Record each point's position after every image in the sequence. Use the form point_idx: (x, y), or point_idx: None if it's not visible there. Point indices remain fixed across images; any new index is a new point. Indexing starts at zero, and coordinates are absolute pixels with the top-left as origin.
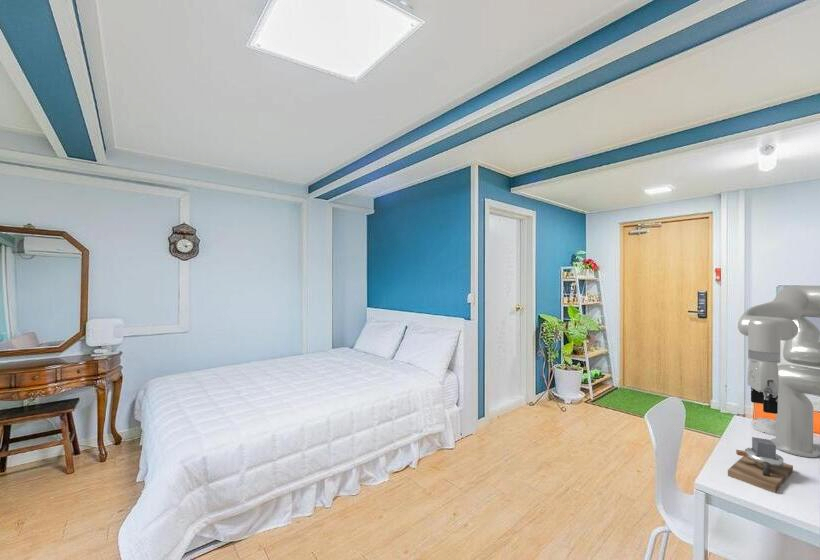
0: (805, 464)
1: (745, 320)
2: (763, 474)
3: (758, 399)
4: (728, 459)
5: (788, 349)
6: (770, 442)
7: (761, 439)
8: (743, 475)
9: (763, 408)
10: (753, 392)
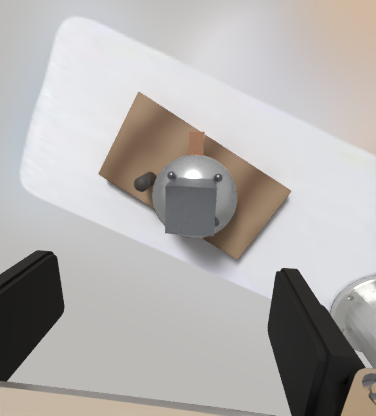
0: None
1: None
2: (147, 172)
3: (279, 326)
4: (251, 129)
5: None
6: (187, 228)
7: (205, 211)
8: (123, 122)
9: (30, 261)
10: (312, 352)
